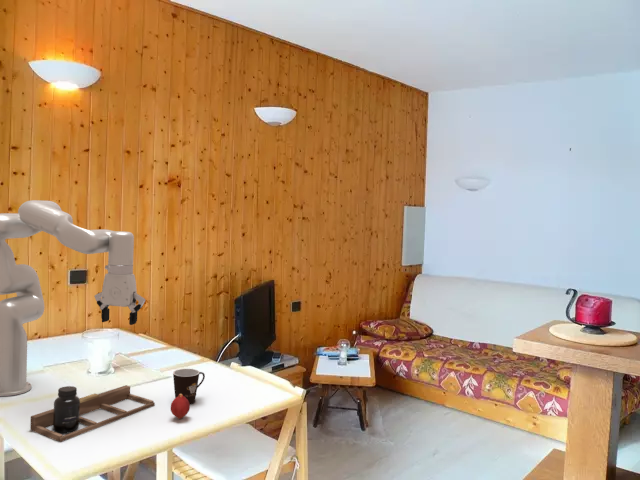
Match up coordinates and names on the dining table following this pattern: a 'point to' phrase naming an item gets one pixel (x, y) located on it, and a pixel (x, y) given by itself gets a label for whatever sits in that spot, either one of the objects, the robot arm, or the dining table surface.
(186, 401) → the onion
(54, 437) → the divided wooden rack
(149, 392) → the dining table surface
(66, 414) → the supplement bottle
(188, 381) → the coffee mug
